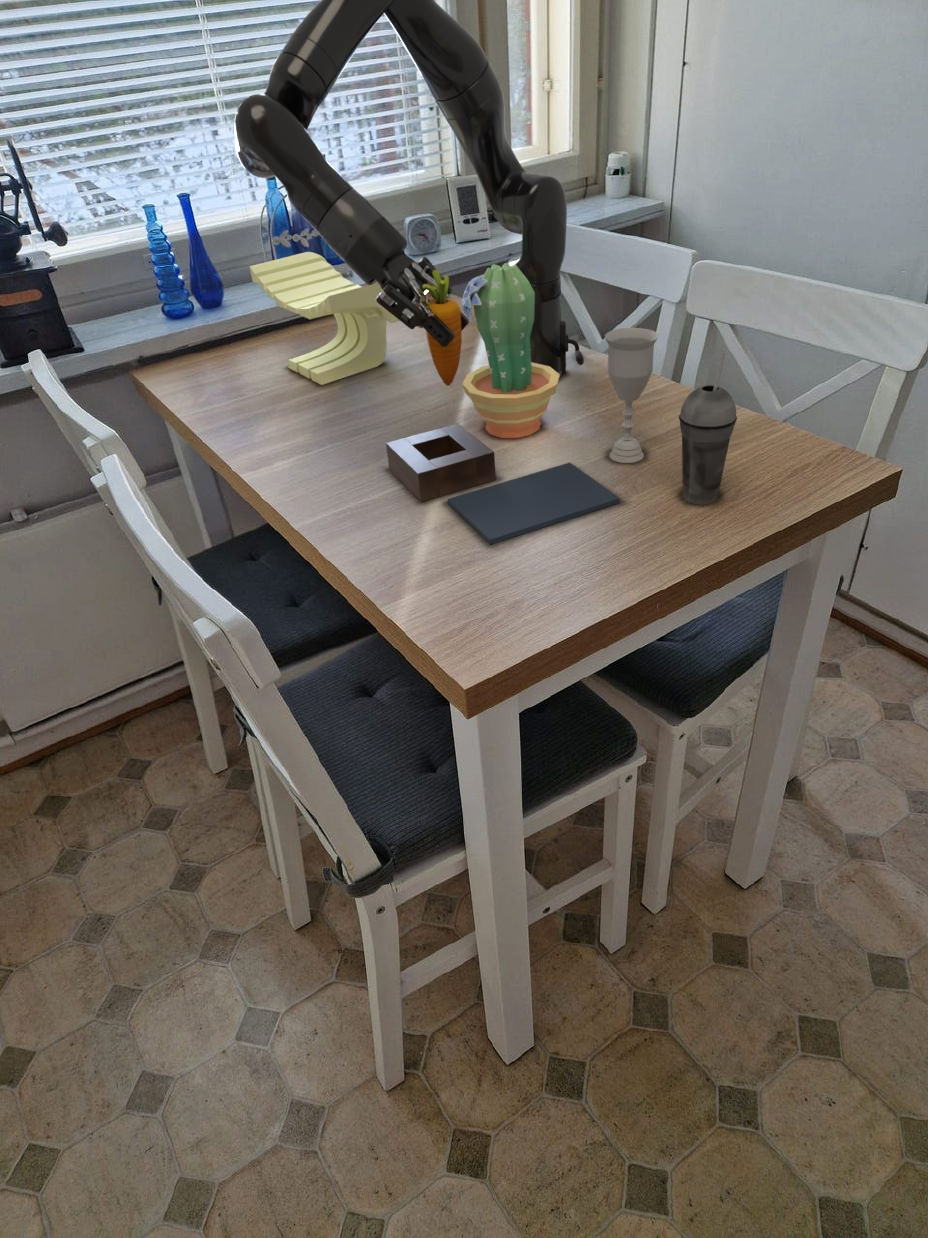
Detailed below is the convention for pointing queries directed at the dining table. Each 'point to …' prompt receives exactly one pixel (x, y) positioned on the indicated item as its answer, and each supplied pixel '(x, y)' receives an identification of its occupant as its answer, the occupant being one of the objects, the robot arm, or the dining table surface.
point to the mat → (531, 502)
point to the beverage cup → (705, 439)
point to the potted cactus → (507, 354)
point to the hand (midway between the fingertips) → (457, 334)
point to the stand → (441, 462)
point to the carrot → (451, 317)
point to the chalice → (629, 380)
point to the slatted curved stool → (323, 292)
